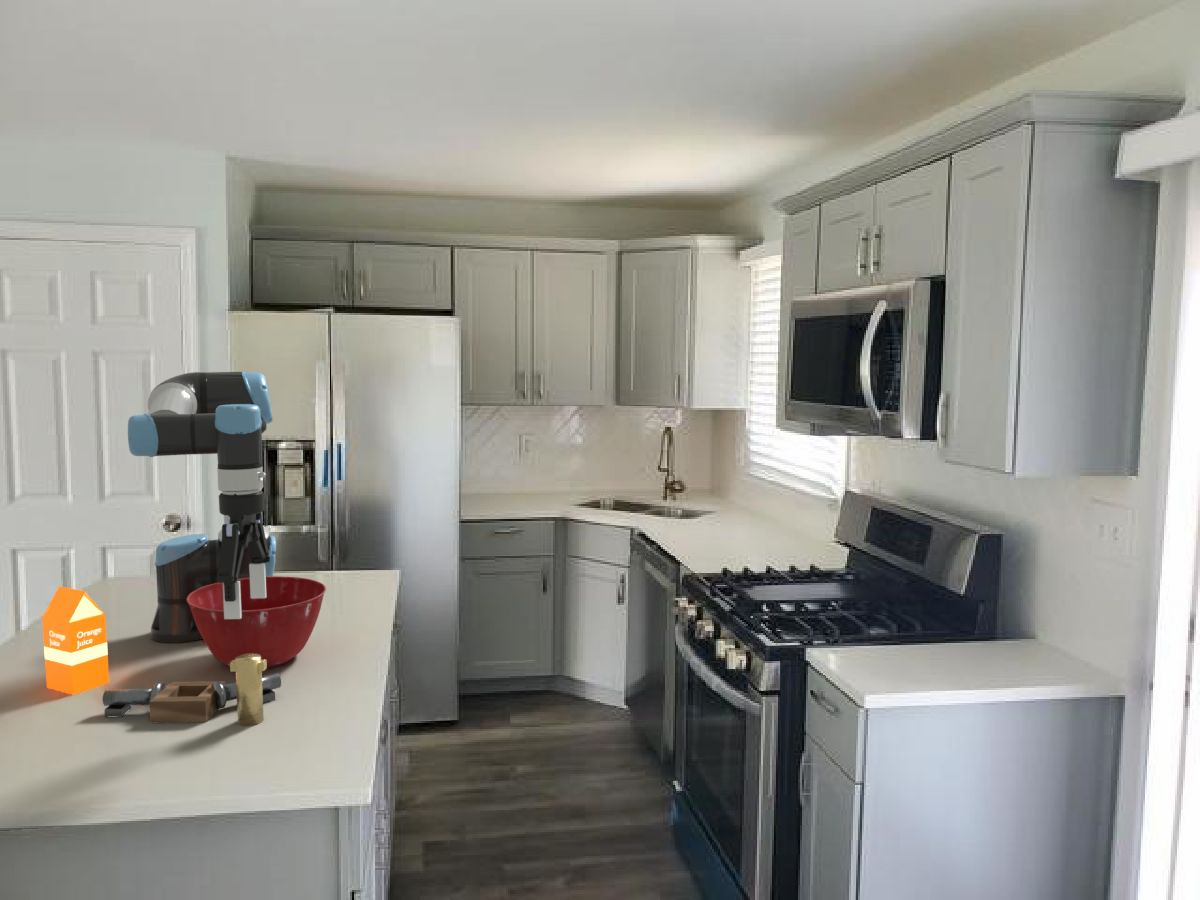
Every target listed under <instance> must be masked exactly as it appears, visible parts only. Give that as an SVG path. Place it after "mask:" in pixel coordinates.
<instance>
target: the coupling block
mask: <svg viewBox="0 0 1200 900" xmlns="http://www.w3.org/2000/svg"><path fill="white" fill-rule="evenodd" d="M217 681H218V680H217ZM217 681H215V680H209V681H207V680H206V681H205V680H204V681H172V682H171V683H170V684H168V685H166V688H165V689H163V690H162V691H161V692H160V693H159V694H158V695H156V696H155V697H154V698H153V699H152V700H151V701H149V705H148V707H149V723H150V724H152V723H153V724H159V723H160V724H163V722H164V724H166V722H168V723H169V722H170V723H171V722H172V723H207V722H208V721H209V720H210V719H211V718H212V717H213V716H214V714H215V713H217V711H218V710H219V709H216V691H215V690H214V689H213V688H211V685H212V683H213V682H217ZM220 681H221V682H222V684H223V686H224V685H226V681H225V680H220ZM207 720H208V721H207ZM151 722H152V723H151ZM154 722H156V723H154ZM157 722H158V723H157Z"/></svg>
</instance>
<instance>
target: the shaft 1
mask: <svg viewBox="0 0 1200 900" xmlns="http://www.w3.org/2000/svg"><path fill="white" fill-rule="evenodd" d="M166 687H167V685H166V683H164V682H156V683H154V684H153V686H152V687H151V688H115V689H114V688H113V689H112V688H110V689H109V688H107V689H105V691H104V693H103V695H102V704H103V706H105V707H106V708H105V709H104V717H105V718H109V717H108V716H122V715H123V716H125V715H126V714H127V713H128V712H129V711H131V710H132V709H133V708H132V706H133V707H134V706H149V701H151V700H152V699H153V698H154V697H155V696H156V695H158V694H159V693H160V692H161V691H162V690H163V689H165V688H166ZM131 708H132V709H131ZM130 709H131V710H130ZM128 710H129V711H128ZM127 711H128V712H127ZM126 712H127V713H126ZM125 713H126V714H125ZM124 714H125V715H124ZM123 716H122V717H123Z"/></svg>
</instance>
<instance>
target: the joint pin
mask: <svg viewBox="0 0 1200 900" xmlns="http://www.w3.org/2000/svg"><path fill="white" fill-rule="evenodd" d="M229 669H230V673H231V672H235V683H236V690H237V699H236V708H237V709H236V710H237V724H238V725H239V724H240V725H239V726H241V725H243V726H242V727H250V725H252V726H256V725H258V724H261V723H262V722H264V718H265V717H264V716H265V715H264V703H263V691H262V676H263V675H262V674H263V672H265V671H266V670H267V669H268V668H267V659H264V660H261V655H260V654H254V653H252V654H244V655H240V656H238V657H236V658H235V660H233V661H231V662H230V666H229Z"/></svg>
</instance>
